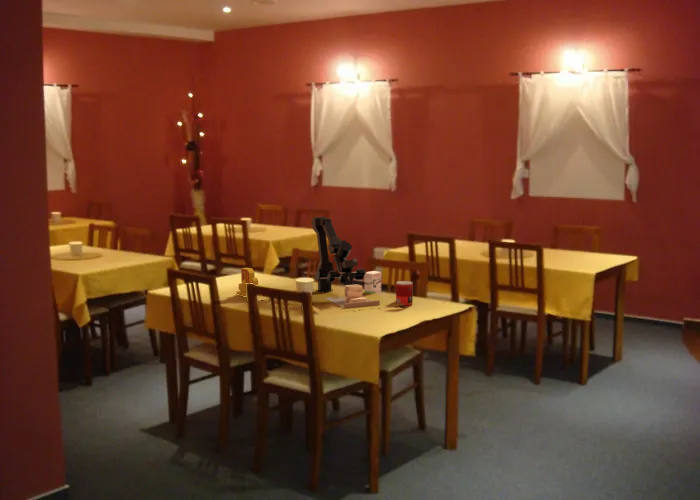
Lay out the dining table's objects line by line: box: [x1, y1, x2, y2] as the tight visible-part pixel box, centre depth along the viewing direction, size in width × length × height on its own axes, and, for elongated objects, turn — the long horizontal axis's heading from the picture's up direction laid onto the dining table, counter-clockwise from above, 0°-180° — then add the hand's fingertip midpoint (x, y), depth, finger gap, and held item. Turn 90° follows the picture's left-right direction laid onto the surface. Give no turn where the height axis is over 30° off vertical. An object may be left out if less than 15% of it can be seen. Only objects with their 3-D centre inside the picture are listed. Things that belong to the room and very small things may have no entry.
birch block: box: [344, 284, 368, 303], centre depth 358 cm, size 10×7×8 cm
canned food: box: [395, 280, 414, 307], centre depth 361 cm, size 8×8×11 cm
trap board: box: [324, 295, 371, 306], centre depth 367 cm, size 18×18×2 cm
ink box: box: [363, 270, 382, 295], centre depth 385 cm, size 9×5×12 cm, turn 143°
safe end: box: [338, 299, 381, 312], centre depth 355 cm, size 7×18×4 cm, turn 114°
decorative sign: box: [235, 267, 260, 297], centre depth 379 cm, size 20×3×15 cm, turn 41°
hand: (351, 289), depth 363 cm, fingers closed, pressing on birch block
